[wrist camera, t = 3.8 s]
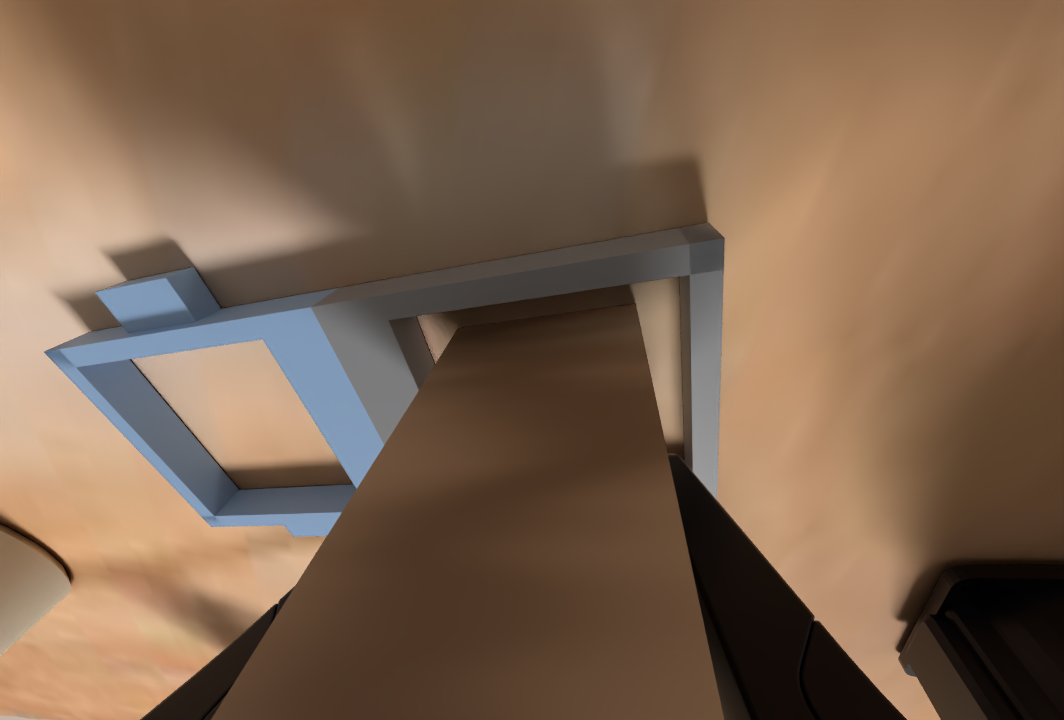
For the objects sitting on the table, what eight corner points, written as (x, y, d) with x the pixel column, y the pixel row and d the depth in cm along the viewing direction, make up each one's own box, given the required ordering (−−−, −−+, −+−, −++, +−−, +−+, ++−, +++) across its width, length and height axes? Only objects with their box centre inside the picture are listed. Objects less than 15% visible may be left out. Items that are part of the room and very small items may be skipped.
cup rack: (709, 158, 8) (726, 166, 7) (705, 507, 13) (715, 542, 12) (58, 295, 12) (6, 313, 11) (252, 520, 16) (230, 546, 15)
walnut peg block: (635, 303, 9) (1010, 2058, 1) (648, 444, 12) (790, 1336, 3) (458, 328, 10) (-140, 1274, 2) (501, 453, 13) (311, 1145, 4)
